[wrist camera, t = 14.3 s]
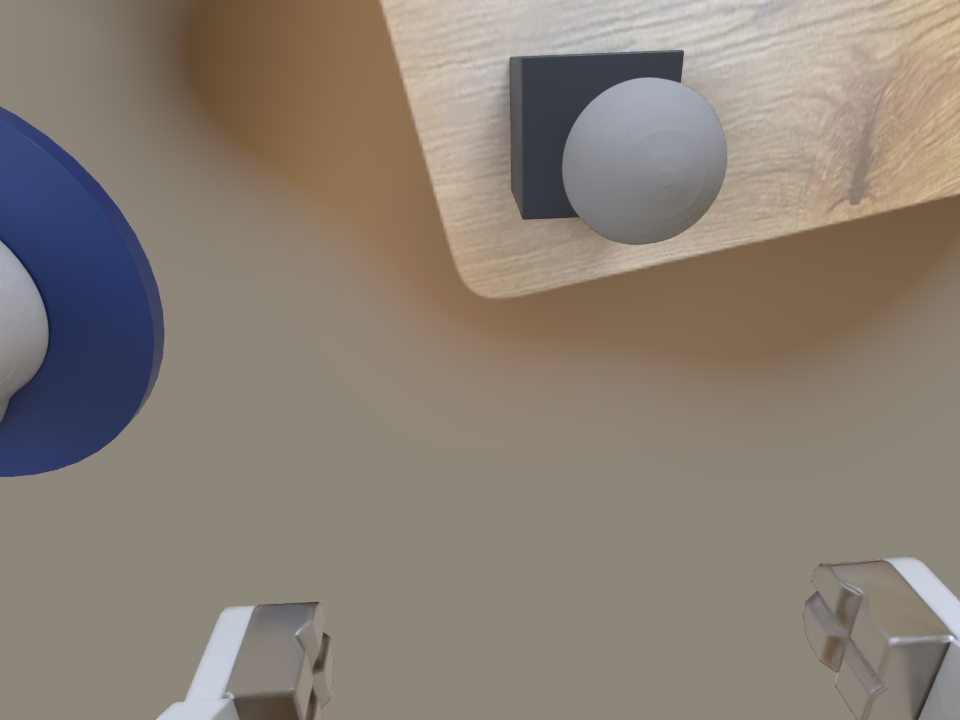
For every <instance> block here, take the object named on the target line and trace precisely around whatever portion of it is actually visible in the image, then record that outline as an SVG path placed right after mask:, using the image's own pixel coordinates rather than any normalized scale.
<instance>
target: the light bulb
mask: <svg viewBox="0 0 960 720" xmlns="http://www.w3.org/2000/svg"><path fill="white" fill-rule="evenodd" d="M726 165H727V145H726V139H725V135H724V132H723V129H722V125H721V123H720V120H719V118H718V116H717V114H716V113H715V111H714V109H713V108H712V107H711V105H710V104H709V103H708V102H707V100H706V99H705V98H703V97H702V96H701V95H700V94H699V93H698V92H696V91H695V90H693V89H692V88H690V87H688V86H686V85H683V84H681V83H678V82H675V81H671V80H666V79H660V78H638V79H632V80H628V81H625V82H622V83H620V84H617V85H615V86H613V87H611V88H609V89H608V90H606V91H604V92H603V93H601V94H600V95H599V96H597V97H596V98H595V99H594V100H593V101H592V102H591V103H590V104H589V105H588V106H587V107H586V108H585V109H584V110H583V111H582V113H581V114H580V116H579V117H578V118H577V120H576V122H575V123H574V125H573V127H572V129H571V131H570V133H569V136H568V138H567V141H566V145H565V148H564V154H563V161H562V175H563V183H564V188H565V191H566V194H567V197H568V199H569V201H570V203H571V205H572V207H573V209H574V210H575V212H576V213H577V214H578V215H579V217H580V218H581V219H582V220H583V221H584V222H585V223H586V224H587V225H588V226H589V227H590V228H591V229H592V230H594V231H595V232H596V233H598V234H600V235H601V236H603V237H605V238H607V239H609V240H612V241H615V242H619V243H623V244H630V245H641V244H650V243H656V242H660V241H664V240H667V239H670V238H672V237H674V236H676V235H678V234H680V233H682V232H684V231H685V230H687V229H688V228H690V227H691V226H692V225H693V224H695V223H696V222H697V221H698V220H699V219H700V218H701V217H702V216H703V215H704V214H705V213H706V211H707V210H708V209H709V207H710V206H711V205H712V203H713V202H714V200H715V198H716V196H717V194H718V192H719V190H720V188H721V185H722V183H723V179H724V176H725V171H726Z"/></svg>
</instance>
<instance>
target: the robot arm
mask: <svg viewBox="0 0 960 720" xmlns="http://www.w3.org/2000/svg"><path fill="white" fill-rule="evenodd" d="M48 339H49V328H48V320H47V314H46V310H45V307H44V304H43V301H42V298H41V296H40V293H39V291H38V289H37V287H36V285H35V283H34V282H33V280H32V278H31V276H30V275H29V273H28V272H27V270H26V269H25V268H24V266H23V265H22V263H21V262H20V261H19V260H18V259H17V257H16V256H15V255H14V254H13V253H12V252H11V251H10V249H9V248H8V247H7V246H6V245H5V244H4V243H3V242H1V241H0V423H1V421H2V420H3V418H4V415H5V413H6V410H7V406H8V403H9V399H10V398H11V397H12V395H13V394H14V393H15V392H17V391H18V390H19V389H20V388H22V387H23V386H24V385H25V384H26V383H28V382H29V381H30V380H31V379H32V378H33V377H34V375H35V374H36V373H37V371H38V370H39V368H40V367H41V365H42V363H43V361H44V358H45V355H46V352H47V347H48ZM811 582H812V584H813V585H814V586H815V588H816V589H817V591H816V592H815V593H814V594H813V595H812V596H811V597H810V598H809V599H808V600H807V601H806V603H805V607H804V612H803V622H804V628H805V634H806V637H807V639H808V641H809V644H810V646H811V648H812V650H813V652H814V653H815V655H816V657H817V658H818V660H819V661H820V662H821V663H823V664H825V665H826V666H827V667H829V668H830V669H832V670H833V671H835V672H836V673H837V675H836V683H835V687H836V688H837V690H838V692H839V693H840V695H841V696H842V698H843V699H844V701H845V702H846V704H847V706H848V707H849V709H850V710H851V712H852V714H853V715H854V717H855V718H856V720H960V601H959V600H958V599H957V598H956V597H955V596H954V595H953V594H952V593H951V592H950V591H949V590H948V589H947V588H946V587H945V585H943V583H942V582H941V581H940V580H939V579H938V578H937V577H936V576H935V575H934V574H933V573H932V572H931V571H930V570H929V569H928V568H927V567H926V566H925V565H924V564H923V563H922V562H921V561H919V560H918V559H915V558H914V557H911V556H910V557H898V558H886V559H879V560H877V559H871V560H860V561H848V562H837V563H826V564H820V565H818V566H817V568H816V569H815V570H814V572H813V576H812V579H811ZM325 621H326V615H325V611H324V607H323V604H322V603H320V602H308V603H289V604H267V605H257V606H237V607H226V608H225V610H224V611H223V612H222V614H220V616H219V617H218V620H217V622H216V625H215V627H214V630H213V632H212V635H211V637H210V640H209V642H208V644H207V647H206V649H205V652H204V654H203V657H202V659H201V662H200V664H199V667H198V669H197V671H196V674H195V676H194V679H193V681H192V683H191V686H190V689H189V691H188V693H187V696H186V698H185V701H184V702H174V703H173V704H172V705H171V706H170V707H169V708H168V709H167V710H166V711H164V712H163V713H162V714H161V715H160V716H159V717H158V718H157V719H156V720H323V717H322V712H321V710H322V708H323V707H324V706H325V705H326V704H327V702H328V701H329V700H330V696H331V690H332V684H333V667H334V659H333V647H332V643H331V638H330V637H329V636H328V635H327V634H325V633H324V632H323V631H324V627H325Z"/></svg>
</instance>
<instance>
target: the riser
mask: <svg viewBox="0 0 960 720" xmlns="http://www.w3.org/2000/svg"><path fill="white" fill-rule="evenodd" d="M683 56H684V51H683V50H669V51H645V52H620V53H595V54H571V55H546V56H521V57H510V122H511V191H512V193H513V196H514V198H515V201H516V203H517V206H518V208H519V211H520V213H521V216H522V218H523V219H524V220H526V219H550V218H573V217H579V215H578V214H577V213H576V212H575V210H574V209H573V207H572V205H571V203H570V201H569V199H568V197H567V194H566V191H565V188H564V183H563V175H562V161H563V154H564V148H565V145H566V141H567V138H568V136H569V133H570V131H571V129H572V127H573V125H574V123H575V122H576V120H577V118H578V117H579V116H580V114H581V113H582V111H583V110H584V109H585V108H586V107H587V106H588V105H589V104H590V103H591V102H592V101H593V100H594V99H595V98H596V97H597V96H599V95H600V94H601V93H603V92H604V91H606V90H608V89H609V88H611V87H613V86H615V85H617V84H620V83H622V82H625V81H628V80H632V79H638V78H660V79H666V80H671V81H675V82H678V83H681V76H682V66H683Z"/></svg>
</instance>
